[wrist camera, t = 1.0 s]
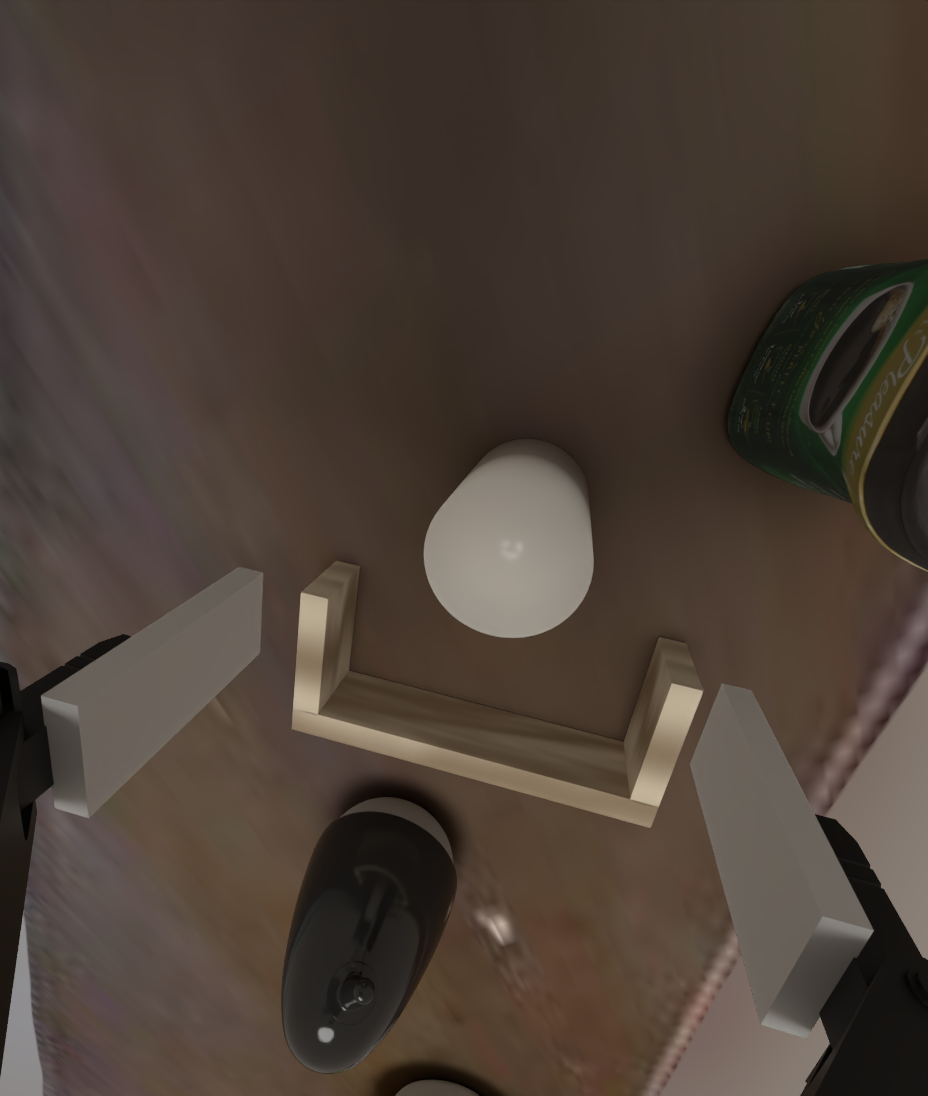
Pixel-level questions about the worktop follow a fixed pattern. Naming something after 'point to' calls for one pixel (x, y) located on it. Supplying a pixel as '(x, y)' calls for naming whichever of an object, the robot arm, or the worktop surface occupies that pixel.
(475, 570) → the white domed cylinder
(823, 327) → the coffee jar
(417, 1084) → the paper bowls
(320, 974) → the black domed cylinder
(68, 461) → the worktop surface
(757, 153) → the worktop surface
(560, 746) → the rest cradle
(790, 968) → the robot arm
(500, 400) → the worktop surface
